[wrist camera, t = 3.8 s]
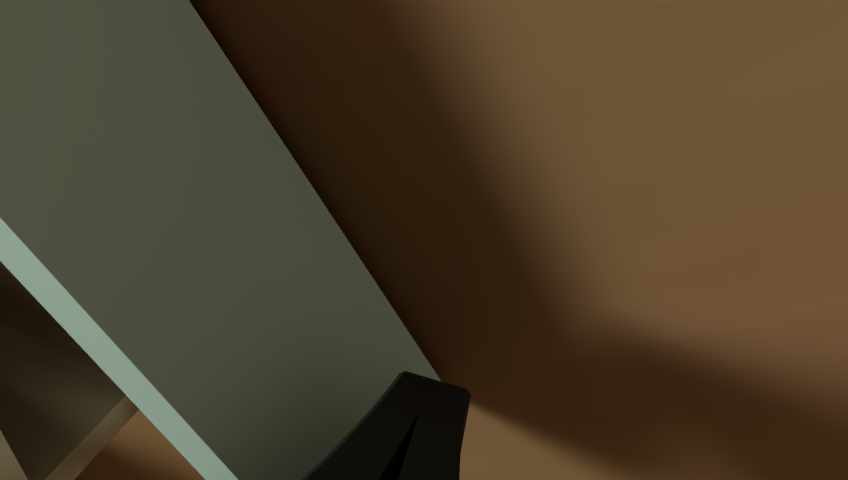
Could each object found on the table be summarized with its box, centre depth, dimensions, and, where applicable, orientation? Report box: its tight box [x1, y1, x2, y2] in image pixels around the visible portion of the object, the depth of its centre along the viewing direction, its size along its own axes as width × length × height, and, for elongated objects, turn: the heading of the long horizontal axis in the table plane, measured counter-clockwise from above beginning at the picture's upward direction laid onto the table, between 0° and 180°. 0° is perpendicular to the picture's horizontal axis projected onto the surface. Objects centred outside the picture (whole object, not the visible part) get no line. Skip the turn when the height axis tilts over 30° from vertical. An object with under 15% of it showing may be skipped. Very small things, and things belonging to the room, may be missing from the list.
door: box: [0, 0, 441, 480], centre depth 11 cm, size 16×2×6 cm, turn 30°
